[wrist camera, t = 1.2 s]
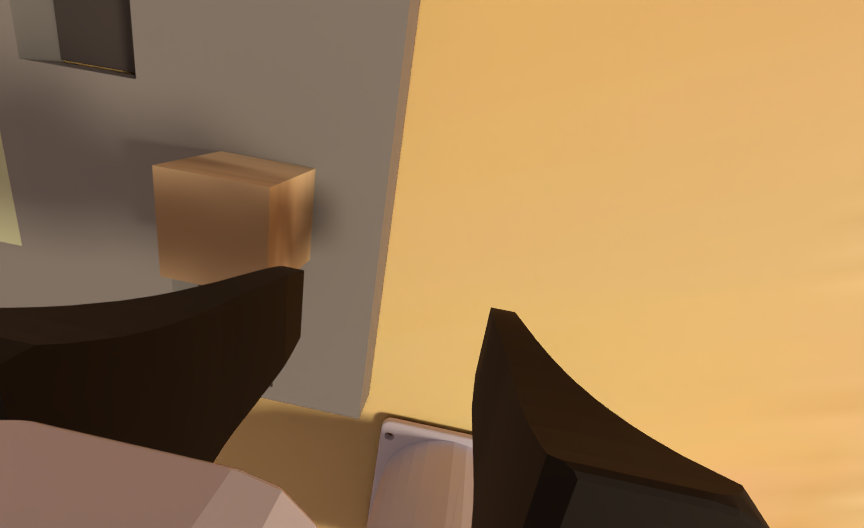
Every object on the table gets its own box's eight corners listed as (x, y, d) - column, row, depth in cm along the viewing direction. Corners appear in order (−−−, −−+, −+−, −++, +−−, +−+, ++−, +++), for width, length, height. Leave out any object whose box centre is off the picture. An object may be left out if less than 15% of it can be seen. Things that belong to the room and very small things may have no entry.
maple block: (309, 259, 20) (266, 298, 16) (222, 242, 20) (160, 276, 16) (315, 168, 18) (269, 187, 14) (221, 151, 18) (151, 165, 15)
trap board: (368, 394, 24) (358, 418, 22) (-7, 313, 25) (-46, 330, 24) (424, -38, 17) (416, -54, 15) (-108, -120, 18) (-176, -145, 16)
